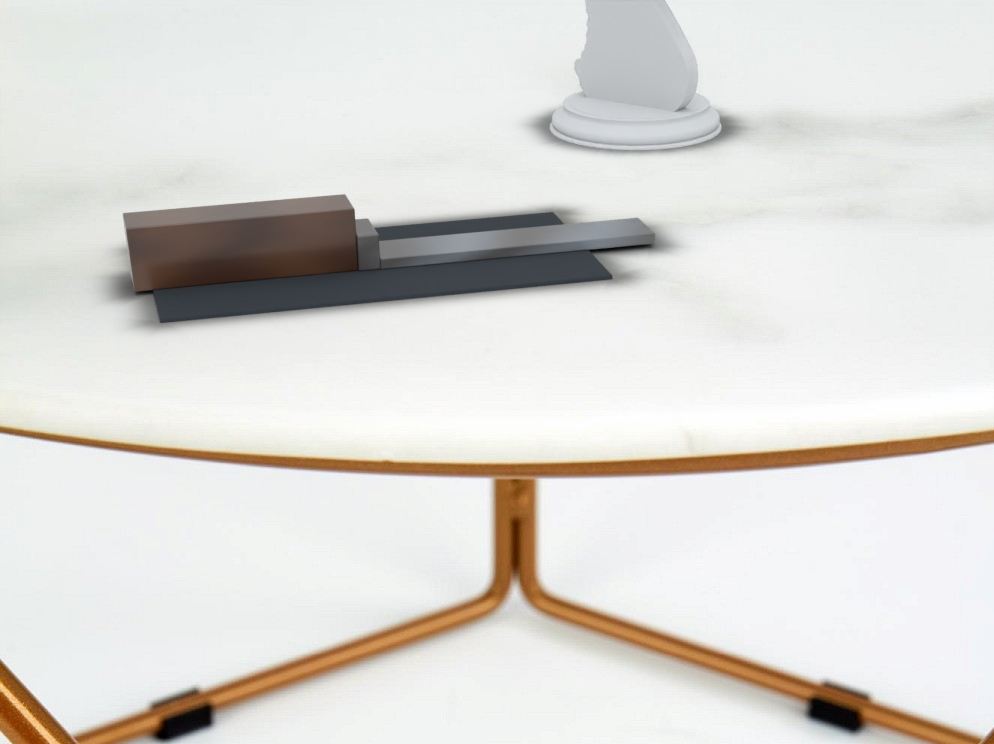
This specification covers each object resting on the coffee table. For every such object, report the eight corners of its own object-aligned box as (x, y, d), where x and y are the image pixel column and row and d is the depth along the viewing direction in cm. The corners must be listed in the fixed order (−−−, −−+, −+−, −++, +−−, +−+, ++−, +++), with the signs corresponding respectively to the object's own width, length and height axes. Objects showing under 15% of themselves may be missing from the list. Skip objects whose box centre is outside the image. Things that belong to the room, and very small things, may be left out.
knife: (134, 292, 75) (125, 229, 74) (130, 274, 77) (122, 212, 76) (655, 243, 80) (657, 183, 78) (638, 227, 82) (639, 168, 80)
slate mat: (161, 332, 73) (159, 318, 72) (144, 260, 81) (143, 247, 80) (612, 288, 77) (612, 275, 76) (553, 223, 85) (553, 211, 84)
